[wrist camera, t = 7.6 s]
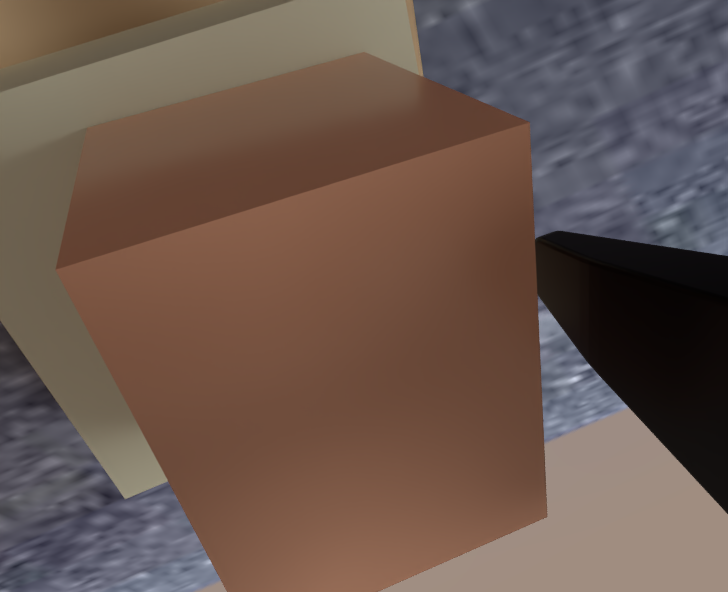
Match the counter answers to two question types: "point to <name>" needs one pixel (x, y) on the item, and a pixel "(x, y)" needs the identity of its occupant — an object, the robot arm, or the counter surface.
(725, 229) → the counter surface
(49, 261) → the tower top
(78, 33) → the tower base
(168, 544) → the counter surface
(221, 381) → the terracotta brick
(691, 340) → the robot arm
